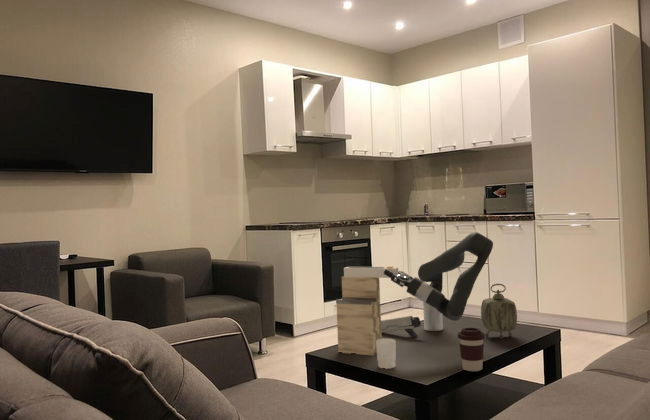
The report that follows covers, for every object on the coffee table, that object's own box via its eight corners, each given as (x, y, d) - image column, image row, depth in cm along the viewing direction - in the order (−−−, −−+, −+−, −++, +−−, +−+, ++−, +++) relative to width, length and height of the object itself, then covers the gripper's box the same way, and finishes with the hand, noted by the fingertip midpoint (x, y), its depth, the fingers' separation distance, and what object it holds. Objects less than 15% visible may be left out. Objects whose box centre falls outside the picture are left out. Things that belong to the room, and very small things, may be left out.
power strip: (347, 275, 241) (347, 265, 241) (398, 276, 231) (398, 266, 231) (344, 276, 237) (343, 266, 237) (395, 277, 228) (395, 267, 228)
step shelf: (348, 345, 242) (345, 275, 242) (381, 348, 236) (379, 276, 235) (338, 352, 231) (335, 279, 231) (372, 355, 224) (370, 280, 224)
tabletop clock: (512, 334, 250) (510, 281, 250) (519, 339, 241) (517, 284, 241) (481, 335, 251) (479, 283, 250) (487, 340, 241) (485, 285, 241)
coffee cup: (456, 365, 206) (455, 326, 206) (482, 364, 206) (480, 326, 206) (462, 373, 196) (460, 332, 196) (489, 372, 196) (487, 332, 196)
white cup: (373, 365, 211) (372, 340, 211) (390, 362, 214) (389, 337, 214) (382, 370, 204) (381, 344, 203) (400, 367, 207) (399, 341, 207)
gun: (422, 336, 249) (417, 315, 250) (378, 342, 264) (373, 322, 265) (424, 335, 251) (419, 314, 252) (380, 341, 266) (376, 321, 267)
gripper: (428, 279, 231) (395, 260, 237) (420, 284, 218) (386, 264, 224) (420, 294, 233) (388, 275, 239) (411, 300, 220) (378, 279, 226)
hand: (387, 270), depth 231 cm, fingers open, 7 cm apart
